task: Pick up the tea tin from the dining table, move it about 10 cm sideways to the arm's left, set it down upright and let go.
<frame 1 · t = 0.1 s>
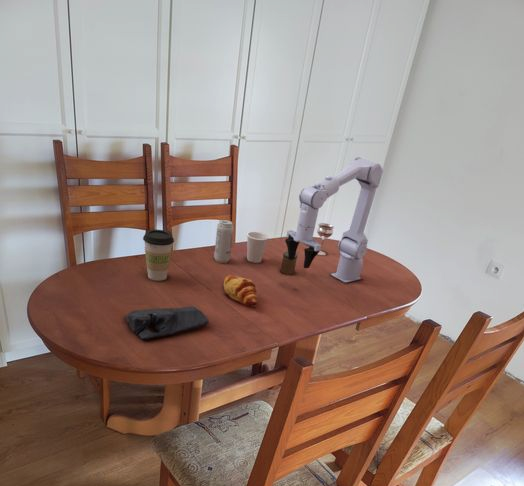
hand: (298, 263, 163), 10 cm above the table, tool pointing down, fingers open, 7 cm apart
coffee cup: (157, 277, 161), on the table
tea tin: (287, 271, 181), on the table
croissant: (240, 296, 158), on the table
dixie cup: (254, 260, 187), on the table
wineglass: (320, 253, 205), on the table
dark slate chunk: (168, 324, 136), on the table
energy drink can: (221, 260, 181), on the table
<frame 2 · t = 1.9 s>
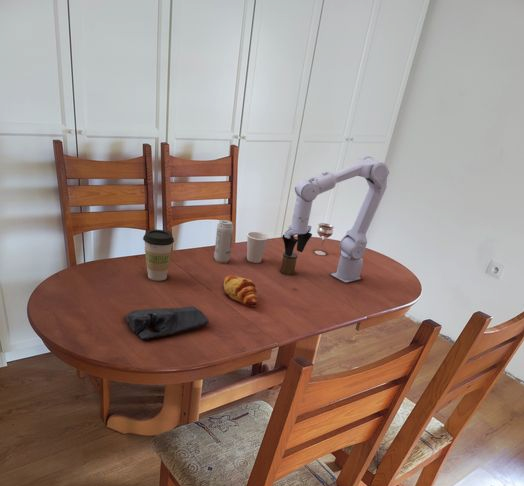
hand: (293, 253, 172), 10 cm above the table, tool pointing down, fingers open, 7 cm apart
nothing on the table moved.
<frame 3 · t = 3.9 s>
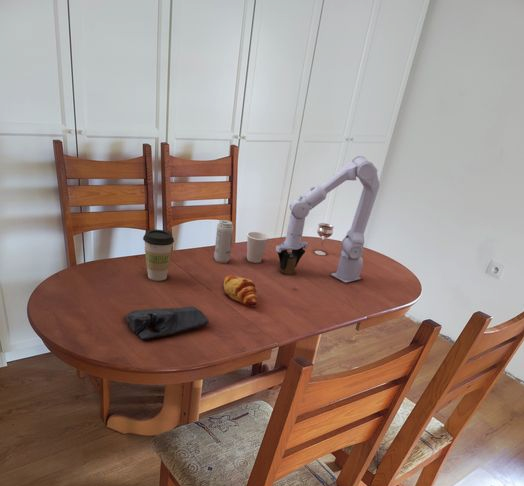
hand: (288, 267, 180), 2 cm above the table, tool pointing down, fingers closed on tea tin, 5 cm apart
tea tin: (287, 271, 181), on the table, touching gripper
everything else where it was.
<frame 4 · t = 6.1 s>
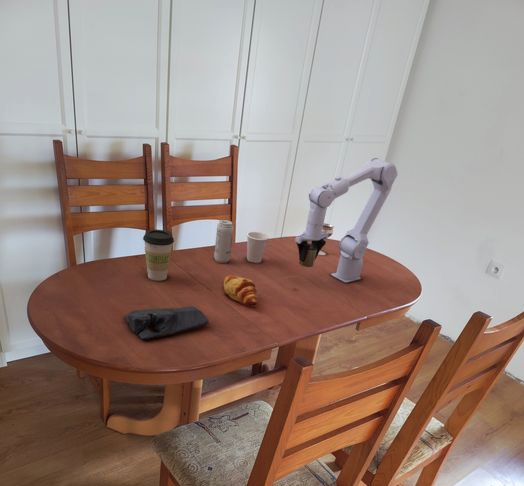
hand: (307, 259, 172), 9 cm above the table, tool pointing down, fingers closed on tea tin, 5 cm apart
tea tin: (306, 264, 173), point 7 cm above the table, touching gripper
everything else where it was.
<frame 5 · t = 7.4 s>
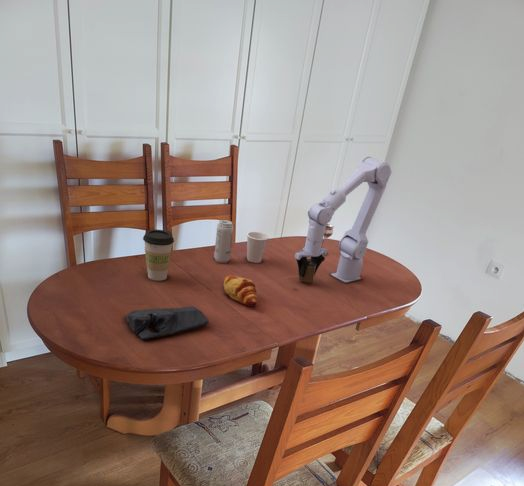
hand: (306, 274, 174), 3 cm above the table, tool pointing down, fingers closed on tea tin, 5 cm apart
tea tin: (305, 279, 175), point 1 cm above the table, touching gripper
everything else where it was.
when the fingers open (2 cm above the table, at t = 8.3 s): tea tin stays where it is, on the table.
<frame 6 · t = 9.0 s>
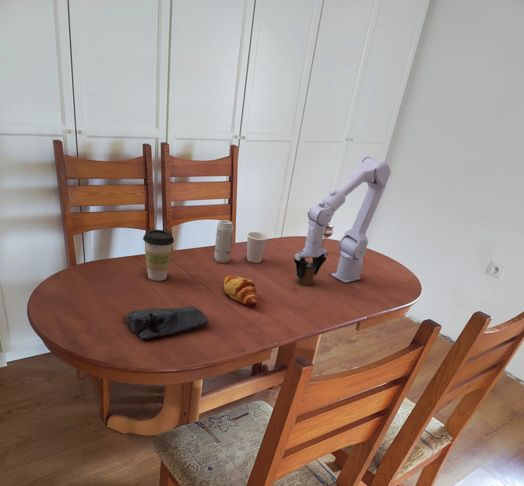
hand: (306, 275, 174), 3 cm above the table, tool pointing down, fingers open, 7 cm apart
tea tin: (305, 282, 175), on the table
everything else where it was.
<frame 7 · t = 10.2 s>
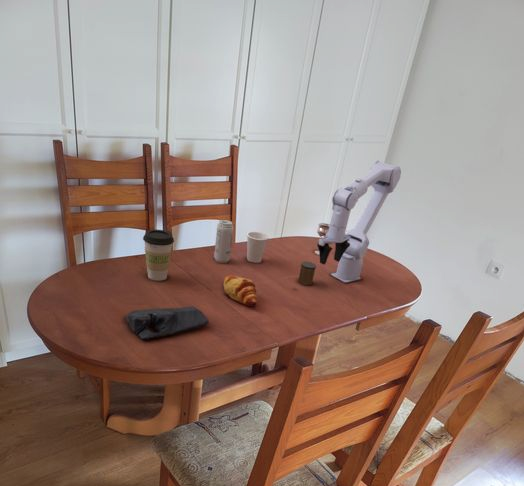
hand: (329, 262, 171), 9 cm above the table, tool pointing down, fingers open, 7 cm apart
nothing on the table moved.
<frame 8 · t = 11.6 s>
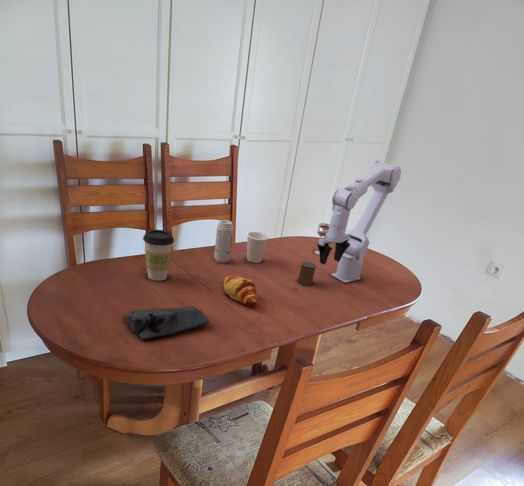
hand: (329, 262, 171), 9 cm above the table, tool pointing down, fingers open, 7 cm apart
nothing on the table moved.
at the end: tea tin inside the target area (0.1 cm from its centre), on the table; tea tin tilted 0°; the gripper is holding nothing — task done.
